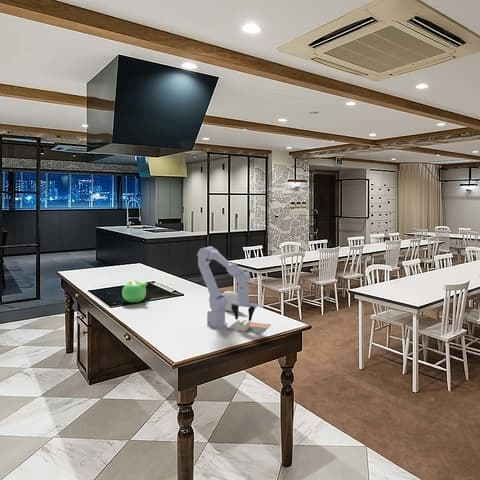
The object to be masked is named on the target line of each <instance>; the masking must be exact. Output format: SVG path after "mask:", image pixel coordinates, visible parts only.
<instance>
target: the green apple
mask: <svg viewBox="0 0 480 480" xmlns="http://www.w3.org/2000/svg"><path fill="white" fill-rule="evenodd" d="M146 286H148V282H147V281H144V282H140V281H137V280H136V281H135V280H129V281H128V282H127V283H126V284H125V285H124V286H123V288H122V290H121V295H122V298H123V299H124V300H125V301H126V302H128V303H133V304H135V302H136V303H139V302H142V301H143V300H144V299H145V297H146V295H147V288H146Z"/></svg>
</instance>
